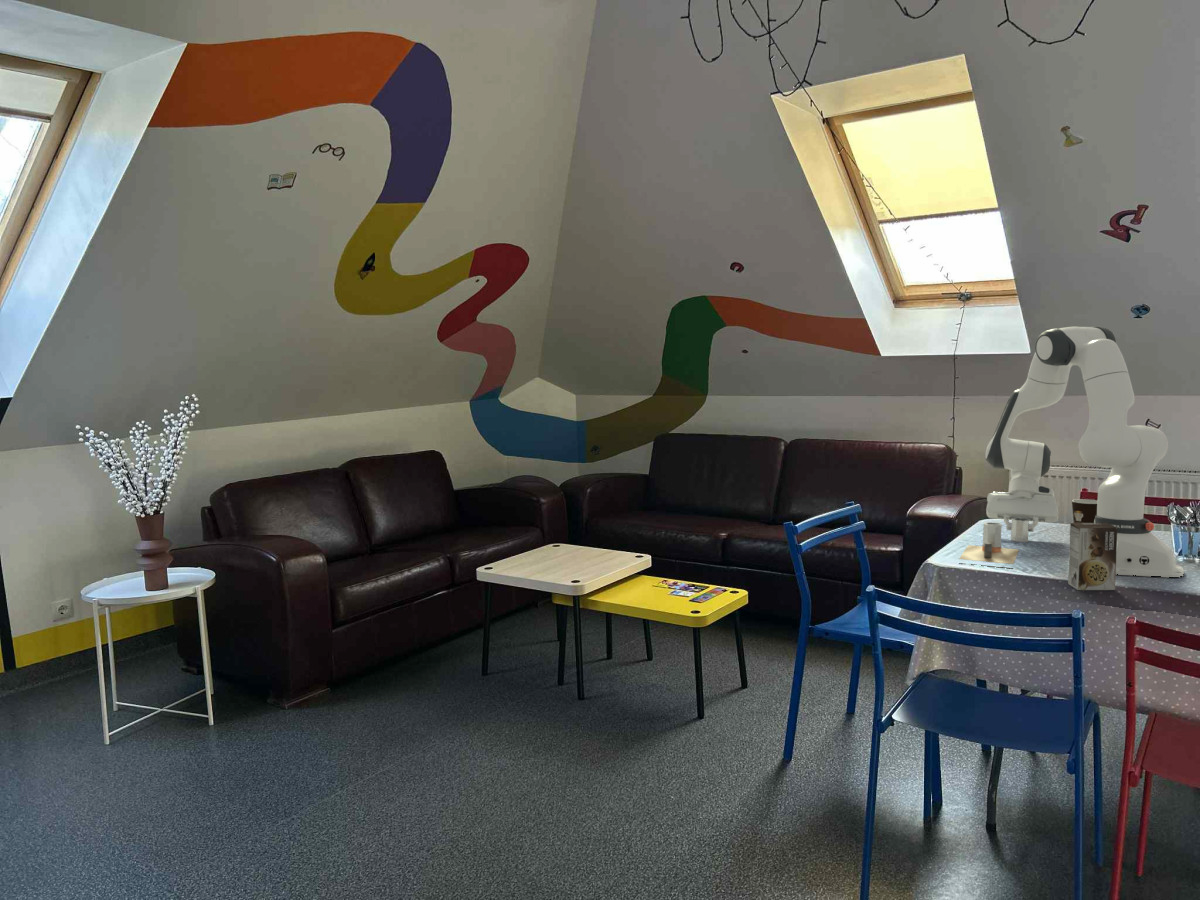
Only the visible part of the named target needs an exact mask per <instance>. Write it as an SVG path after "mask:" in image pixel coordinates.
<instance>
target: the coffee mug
mask: <svg viewBox="0 0 1200 900" xmlns="http://www.w3.org/2000/svg"><path fill="white" fill-rule="evenodd" d="M1097 501H1098V500H1095V499H1085V498H1084V499H1083V498H1080V499H1078V498H1077V499H1072V500H1071V507H1072V519H1073V523H1094V519H1095V515H1097Z"/></svg>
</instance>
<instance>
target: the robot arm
mask: <svg viewBox="0 0 1200 900" xmlns="http://www.w3.org/2000/svg"><path fill="white" fill-rule="evenodd" d="M1034 349H1035V351H1034V354H1033V357H1032V360H1031V362H1030V366H1029V370H1028V373H1027V378H1026V380H1025V381H1024V383H1023V385H1021V386H1020V388H1017V389H1015V390H1013V392H1011V395H1010V396H1009V398H1008V400H1007V402H1006V405H1005V407H1004V409H1003V412H1002V414H1001V416H1000V419H999V422H998V424H997V426H996V428H995V431H994V434H993V435H992V437H991V439H990V440H989V442H988V443H987V445H986V446H987V447H986V449H985V461H986V462H987V463H988V465H990V466H991V467H992V468H993V469H996V470H997V469H1000V470H1010V473H1009V475H1010V480H1009V483H1008V492H1003V491H1001V492H1000V491H999V492H998V491H993V492H991V493H988V494H987V495H986V496H987V497H986V502H987V504H986V509H985V511H986V517H988V519H999V520H1002V519H1003V522H1004V524H1005V526H1006V527H1005V528H1006V531H1011V529H1012V522H1010V520H1012V518H1025V519H1029V522H1032V523H1029V525H1028V531H1029V533H1030V532H1031V533H1033V532H1034V531H1035V528H1036V527H1037V526H1038V525H1039V522H1042V523H1056V522H1057V521H1058V520H1059V511H1058V510H1059V509H1058V502H1057V498H1055V497H1056V493H1055V490H1054V489H1053V488H1051V487H1048V486H1044V485H1041V484H1040V479H1041V478H1042V477H1044V476H1045V475H1046V474H1047V473H1048V472H1049V471H1050V468H1051V467H1050V466H1051V455H1052V451H1051V449H1050V448H1049V446H1048V445H1047V444H1046V443H1043V442H1039V441H1038V442H1037V441H1032V440H1024V439H1023V440H1022V439H1016V438H1010V437H1009V436H1010V433H1011V431H1012V428H1013V426H1014V424H1015V421H1016V419H1017V417H1019V416H1020V415H1021V414H1023V413H1026V412H1029V411H1032V410H1033V411H1034V410H1038V409H1044V408H1048V407H1050V406H1053V405H1055V404H1056V403H1058V402H1059V401H1060V400H1061V399H1063V397H1064V395H1065V393H1066V390H1067V386H1068V382H1069V377H1070V374H1071V373H1070V371H1071V368H1072V367H1073V366H1077V367H1078V368H1079V369H1080V372H1081V376H1082V380H1083V385H1084V389H1085V393H1086V398H1087V404H1088V408H1089V413H1088V414H1089V417H1088V424H1087V427H1086V430H1085V432H1084V433H1083V434H1082V435H1081V437H1080V439H1079V441H1078V453H1079V456H1080V458H1081V459H1082V460H1083V462H1084V463H1086V464H1087V465H1088V466H1089V465H1090V466H1093V467H1097V468H1098V467H1099V468H1107V469H1109V468H1111V470H1110V472H1109V475H1108V476H1107V477H1106V478H1105V480H1104V481H1103V482H1101V483H1100V484H1099V486H1098V488H1097V500H1096V501H1097V515H1095V519H1094V523H1108V524H1111V525H1113V526H1114V527H1117V550H1116V575H1117V574H1118V575H1117V576H1133V575H1134V576H1135V575H1136V576H1137V577H1138V576H1139V577H1151V576H1161V577H1160V578H1169V577H1179V578H1181V577H1180V576H1182V577H1183V576H1184V575H1185V571H1184V568H1183V567H1182V566H1180V565H1178V564H1176V560H1175V559H1176V558H1175V554H1174V551H1173V550H1172V548H1171V547H1170V546H1169V545H1168V544H1167V543H1165V542H1163V540H1161V539H1160V538H1158V537H1157V536H1156V535H1155V534H1153V532H1152V531H1153V530H1154V529H1155V524H1154V523H1153V522H1151V520H1149V519H1147V518H1145V517H1144V514H1145V513H1144V511H1145V509H1144V508H1145V498H1146V491H1147V486H1148V484H1149V480H1150V478H1151V475H1152V474H1153V471H1154V469H1155V468H1156V466H1157V465H1158V463H1159V462H1160V461H1161V460H1163V459H1164V457H1165V456H1166V454H1167V453H1168V449H1169V441H1168V438H1167V437H1168V436H1167V435H1166V434H1165V433H1164V431H1162V430H1161V429H1159V428H1156V427H1152V426H1148V425H1145V424H1144V425H1142V424H1141V425H1140V424H1137V425H1128V413H1129V412H1128V411H1129V410H1130V408H1132V407H1133V405H1134V404H1135V402H1136V397H1135V393H1134V388H1133V385H1132V381H1131V378H1130V373H1129V370H1128V366H1127V363H1126V361H1125V357H1124V355H1123V353H1122V351H1121V350H1120V347H1119V346H1118V344H1117V341H1116V337H1115V334H1114V333H1113V331H1111V330H1110V329H1108V328H1107V327H1106V328H1105V327H1101V326H1077V325H1076V326H1074V325H1073V326H1067V327H1060V328H1057V327H1055V328H1051V329H1048V330H1045V331H1043V332H1041V333H1040V334H1039V335H1038V337H1037V339H1036V343H1035V348H1034ZM1183 574H1184V575H1183ZM1136 576H1135V577H1136Z"/></svg>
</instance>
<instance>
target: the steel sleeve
mask: <svg viewBox="0 0 1200 900" xmlns="http://www.w3.org/2000/svg"><path fill="white" fill-rule="evenodd" d="M1011 523H1012V529H1011V530H1010V531H1011V533H1010V541H1013V542H1016V543H1028V542H1029V541H1030V540H1029V533H1030V532H1029V531H1028V525H1029V524H1030V521H1029V519H1025V518H1012V519H1011Z"/></svg>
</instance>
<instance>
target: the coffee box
mask: <svg viewBox="0 0 1200 900" xmlns="http://www.w3.org/2000/svg"><path fill="white" fill-rule="evenodd" d="M1069 528H1070V529H1069V531H1070V532H1069V552H1068V553H1069V555H1068V557H1069V558H1068V582H1067V583H1068V585H1070V586H1071V587H1072V588H1073V589H1075V590H1078V591H1116V579H1117V578H1116V577H1117V574H1116V550H1117V527H1114V526H1113V525H1111V524H1108V523H1074V522H1070V527H1069Z"/></svg>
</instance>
